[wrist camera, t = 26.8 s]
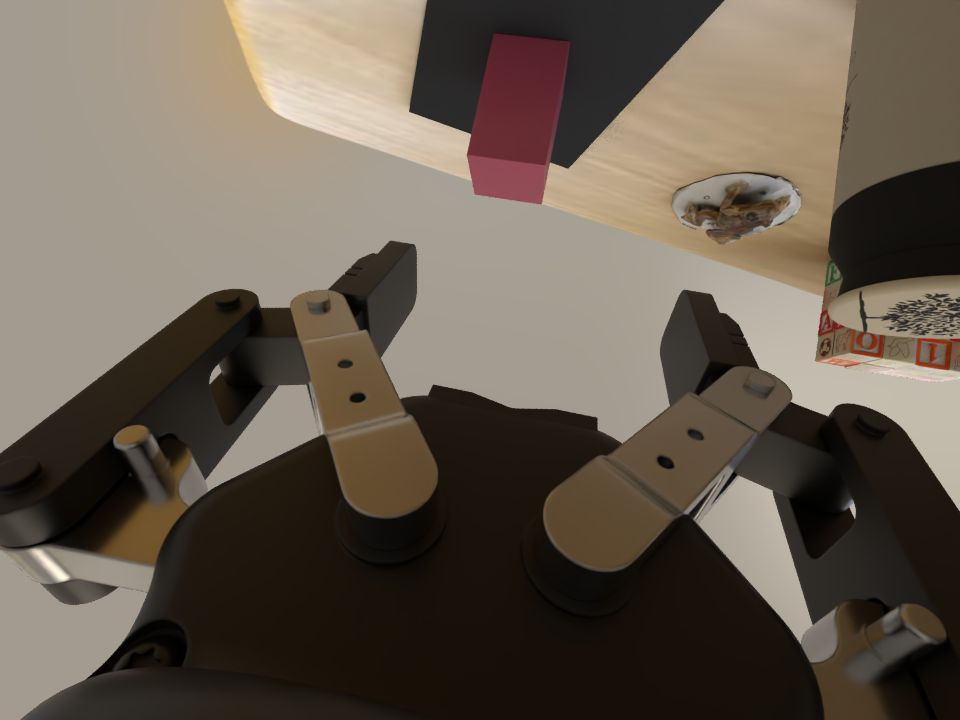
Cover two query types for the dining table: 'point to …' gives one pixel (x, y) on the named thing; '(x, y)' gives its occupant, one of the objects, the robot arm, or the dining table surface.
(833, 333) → the stack of blocks
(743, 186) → the frog figurine
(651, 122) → the dining table surface
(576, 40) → the mat
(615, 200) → the dining table surface
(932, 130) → the travel mug
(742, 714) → the robot arm
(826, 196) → the dining table surface
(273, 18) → the dining table surface
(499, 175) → the block
